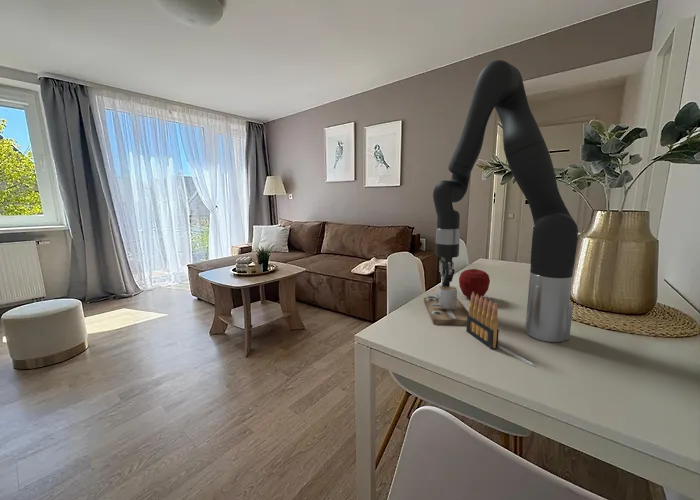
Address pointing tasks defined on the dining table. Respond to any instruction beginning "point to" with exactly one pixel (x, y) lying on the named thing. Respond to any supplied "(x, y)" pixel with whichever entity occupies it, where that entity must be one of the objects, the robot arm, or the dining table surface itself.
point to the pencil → (516, 356)
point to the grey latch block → (447, 297)
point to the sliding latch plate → (446, 312)
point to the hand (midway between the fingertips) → (445, 291)
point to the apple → (474, 282)
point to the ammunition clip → (483, 321)
